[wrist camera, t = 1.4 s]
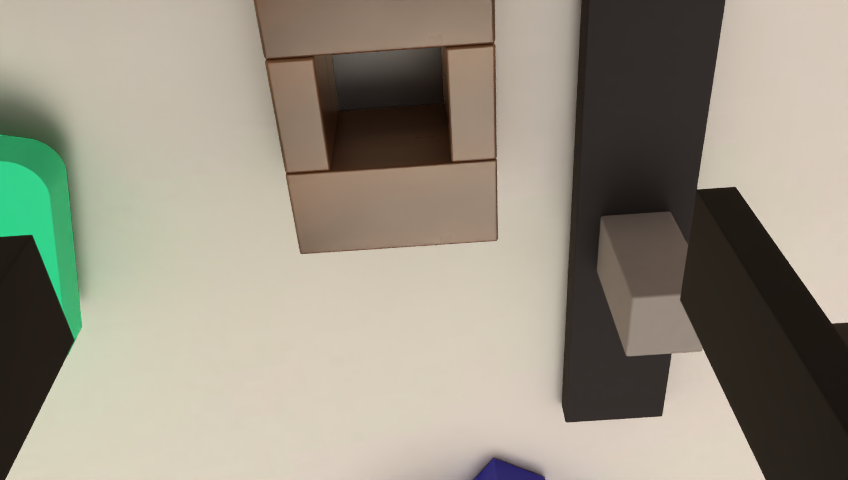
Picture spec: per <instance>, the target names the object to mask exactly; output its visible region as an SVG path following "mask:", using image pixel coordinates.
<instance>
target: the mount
mask: <svg viewBox="0 0 848 480" xmlns="http://www.w3.org/2000/svg"><path fill="white" fill-rule="evenodd" d="M474 480H545V477H543V476H541V475H538V474H535V473H532V472H530V471H527V470H524V469H522V468H519V467H516V466H514V465H511V464H508V463H506V462H503V461H500V460H498V459H495V458H493V460H492V461H491V462H490V463H489V464H488V465H487V466H486V467H485V468H484V469H483V470H482V472H481V473H480V474H479V475H478V476H477V477H476V478H475V479H474Z"/></svg>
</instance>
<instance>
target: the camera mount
mask: <svg viewBox="0 0 848 480" xmlns="http://www.w3.org/2000/svg"><path fill="white" fill-rule="evenodd" d="M20 235H33V238H34V240H35V243H36V245H37V248H38V250H39V252H40V255H41V257H42V260H43V262H44V265H45V267H46V270H47V272H48V275H49V277H50V280H51V282H52V285H53V287H54V290H55V292H56V295H57V297H58V300H59V302H60V305H61V307H62V310H63V312H64V315H65V317H66V320H67V322H68V325H69V327H70V330H71V332H72V335H73V337H74V340H76V338H77V336H78V334H79V332H80V330H81V328H82V321H81V311H80V301H79V291H78V281H77V271H76V261H75V251H74V241H73V231H72V220H71V210H70V200H69V190H68V180H67V171H66V167H65V164H64V162H63V160H62V159H61V157H60V156H59V155H58V154H57V153H56V152H55V151H54V150H53V149H52V148H51V147H49V146H48V145H46V144H44V143H42V142H40V141H38V140H34V139H30V138H23V137H15V136H8V135H0V237H5V236H20ZM74 342H75V341H74ZM73 344H74V343H73ZM72 346H73V345H72ZM71 348H72V347H71ZM70 350H71V349H70ZM69 352H70V351H69ZM68 354H69V353H68Z"/></svg>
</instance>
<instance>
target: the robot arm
mask: <svg viewBox="0 0 848 480" xmlns="http://www.w3.org/2000/svg"><path fill="white" fill-rule="evenodd" d="M680 301H681V303H682V305H683V307H684V310H685V312H686V314H687V316H688V318H689V320H690V322H691V324H692V326H693V328H694V330H695V333H696V335H697V337H698V339H699V341H700V343H701V345H702V347H703V349H704V351H705V354H706V356H707V358H708V360H709V362H710V364H711V366H712V368H713V370H714V372H715V374H716V377H717V379H718V381H719V383H720V385H721V387H722V389H723V391H724V393H725V395H726V397H727V400H728V402H729V404H730V406H731V408H732V410H733V412H734V414H735V416H736V418H737V420H738V423H739V425H740V427H741V429H742V431H743V433H744V435H745V437H746V439H747V441H748V444H749V446H750V448H751V450H752V452H753V454H754V456H755V458H756V460H757V462H758V464H759V467H760V469H761V471H762V473H763V475H764V477H765V479H766V480H848V323H835V324H832V323H831V322H830V321H829V319H828V318H827V316H826V315H825V313H824V312H823V311H822V309H821V308H820V306H819V305H818V304H817V302H816V301H815V299H814V298H813V296H812V295H811V294H810V292H809V291H808V289H807V288H806V286H805V285H804V284H803V282H802V281H801V279H800V278H799V277H798V275H797V274H796V272H795V271H794V269H793V268H792V267H791V265H790V264H789V262H788V261H787V259H786V258H785V257H784V255H783V254H782V252H781V251H780V250H779V248H778V247H777V245H776V244H775V242H774V241H773V240H772V238H771V237H770V235H769V234H768V232H767V231H766V230H765V228H764V227H763V225H762V224H761V222H760V221H759V220H758V218H757V217H756V215H755V214H754V213H753V211H752V210H751V208H750V207H749V205H748V204H747V203H746V201H745V200H744V198H743V197H742V195H741V194H740V193H739V191H738V190H737V188H736V187H728V188H713V189H698V190H696V196H695V203H694V209H693V216H692V223H691V229H690V236H689V243H688V249H687V256H686V262H685V269H684V276H683V282H682V289H681V295H680ZM74 341H75V340H74V337H73V335H72V332H71V330H70V327H69V325H68V322H67V320H66V317H65V315H64V312H63V310H62V307H61V305H60V302H59V300H58V297H57V295H56V292H55V290H54V287H53V285H52V282H51V280H50V277H49V275H48V272H47V270H46V267H45V265H44V262H43V260H42V257H41V255H40V252H39V250H38V248H37V245H36V243H35V240H34V238H33V235H20V236H5V237H0V480H5V479H6V477H7V475H8V473H9V471H10V469H11V467H12V465H13V463H14V461H15V459H16V457H17V455H18V453H19V451H20V449H21V447H22V445H23V443H24V441H25V439H26V437H27V435H28V433H29V431H30V429H31V427H32V425H33V423H34V421H35V419H36V417H37V415H38V413H39V411H40V409H41V407H42V405H43V403H44V401H45V399H46V397H47V395H48V393H49V391H50V389H51V387H52V385H53V383H54V381H55V379H56V377H57V375H58V373H59V371H60V369H61V367H62V365H63V363H64V361H65V359H66V357H67V355H68V353H69V351H70V349H71V347H72V345H73V343H74Z"/></svg>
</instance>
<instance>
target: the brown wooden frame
mask: <svg viewBox="0 0 848 480" xmlns="http://www.w3.org/2000/svg"><path fill="white" fill-rule="evenodd" d="M254 6H255V11H256V16H257V22H258V27H259V33H260V38H261V43H262V49H263V54H264V57H265V59H266V61H265V65H266V70H267V76H268V81H269V86H270V92H271V97H272V103H273V108H274V113H275V119H276V124H277V129H278V135H279V140H280V146H281V151H282V156H283V162H284V167H285V171H286V179H287V185H288V190H289V195H290V201H291V206H292V212H293V217H294V222H295V228H296V233H297V238H298V244H299V249H300V253H301V254H309V253H323V252H338V251H353V250H367V249H382V248H397V247H411V246H426V245H441V244H456V243H470V242H485V241H497V239H498V217H497V160H496V157H497V145H496V68H495V44H494V41H495V0H254ZM433 47H441V54H442V73H443V92H444V104H430V105H416V106H402V107H387V108H373V109H359V110H345V111H339V107H338V99H337V92H336V84H335V77H334V70H333V62H332V55H335V54H349V53H363V52H377V51H391V50H405V49H419V48H433Z"/></svg>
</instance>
